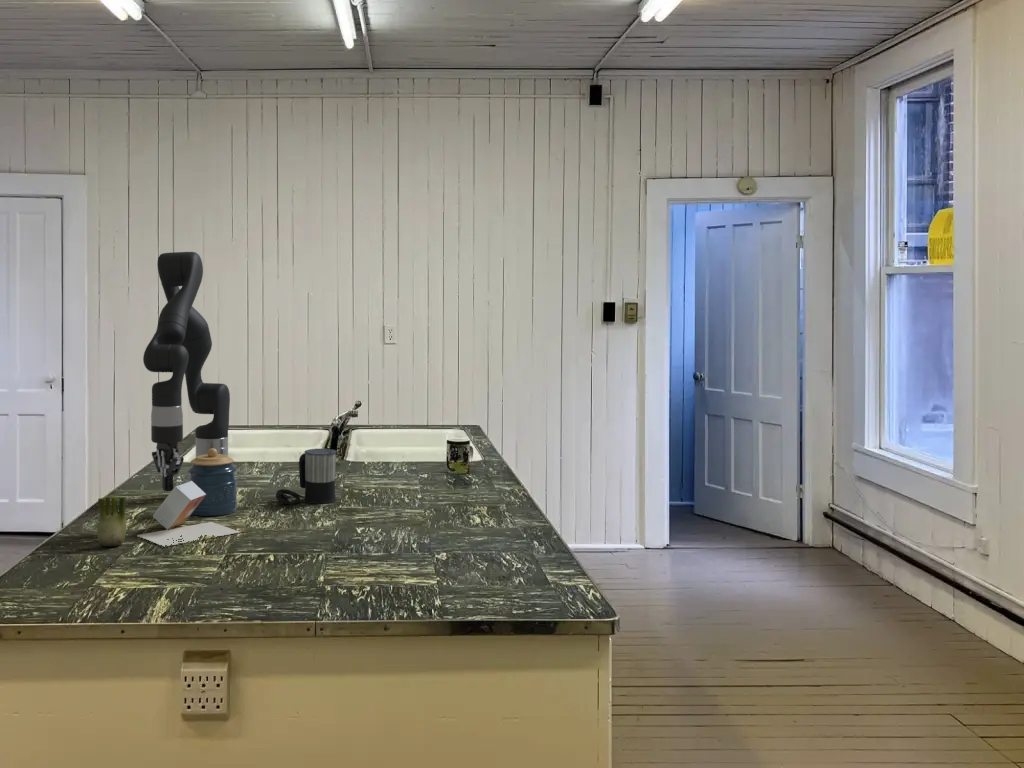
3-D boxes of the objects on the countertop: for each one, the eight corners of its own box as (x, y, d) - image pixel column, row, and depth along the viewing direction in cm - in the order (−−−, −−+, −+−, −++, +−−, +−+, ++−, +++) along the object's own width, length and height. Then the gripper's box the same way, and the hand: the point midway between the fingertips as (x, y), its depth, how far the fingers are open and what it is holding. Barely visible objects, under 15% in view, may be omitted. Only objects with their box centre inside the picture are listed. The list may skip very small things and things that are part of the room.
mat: (211, 523, 242) (211, 521, 242) (240, 533, 232) (240, 531, 232) (137, 536, 227) (137, 535, 227) (164, 548, 218) (164, 546, 218)
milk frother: (342, 499, 273) (342, 450, 272) (309, 510, 259) (309, 458, 257) (304, 494, 279) (304, 445, 278) (269, 504, 265) (268, 453, 264)
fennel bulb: (128, 543, 221) (127, 494, 220) (120, 549, 216) (119, 498, 215) (103, 543, 221) (102, 493, 220) (95, 548, 216) (93, 498, 215)
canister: (191, 518, 246) (191, 453, 245) (184, 508, 258) (183, 445, 256) (241, 514, 252) (241, 450, 251) (232, 504, 264) (232, 443, 262)
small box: (167, 530, 233) (190, 500, 231) (151, 516, 234) (174, 485, 232) (184, 523, 241) (207, 494, 239) (169, 509, 242) (192, 479, 240)
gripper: (193, 424, 232) (194, 492, 234) (168, 419, 241) (169, 484, 243) (165, 427, 227) (166, 496, 228) (140, 421, 236) (141, 488, 237)
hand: (167, 490), depth 236 cm, fingers closed
